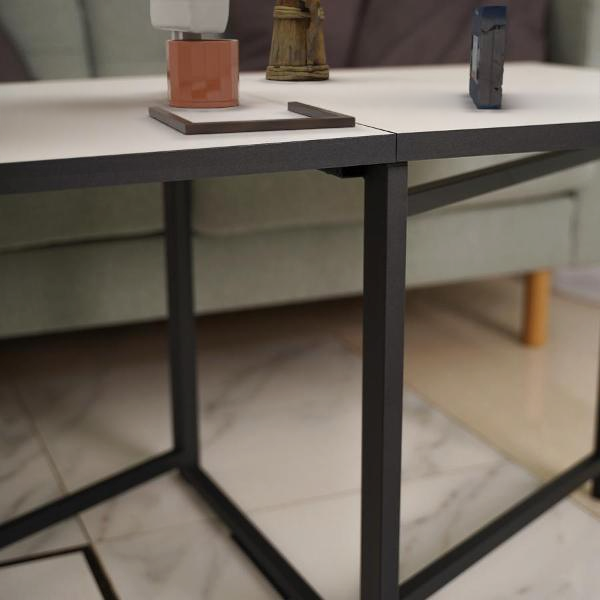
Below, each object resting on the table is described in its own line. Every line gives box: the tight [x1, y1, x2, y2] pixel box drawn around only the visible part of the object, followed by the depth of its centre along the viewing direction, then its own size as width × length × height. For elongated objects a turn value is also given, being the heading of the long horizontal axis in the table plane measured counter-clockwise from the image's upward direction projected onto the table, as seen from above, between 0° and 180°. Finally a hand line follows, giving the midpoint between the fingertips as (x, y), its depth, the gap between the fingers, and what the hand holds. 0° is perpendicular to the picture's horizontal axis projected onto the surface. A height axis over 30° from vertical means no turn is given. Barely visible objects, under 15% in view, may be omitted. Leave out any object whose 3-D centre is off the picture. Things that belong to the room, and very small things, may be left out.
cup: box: [165, 38, 240, 109], centre depth 95 cm, size 7×7×6 cm
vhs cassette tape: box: [468, 5, 508, 110], centre depth 99 cm, size 18×3×10 cm, turn 171°
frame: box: [147, 101, 356, 135], centre depth 82 cm, size 15×14×1 cm
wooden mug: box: [264, 0, 330, 82], centre depth 125 cm, size 9×14×18 cm, turn 22°
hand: (187, 74), depth 101 cm, fingers closed
